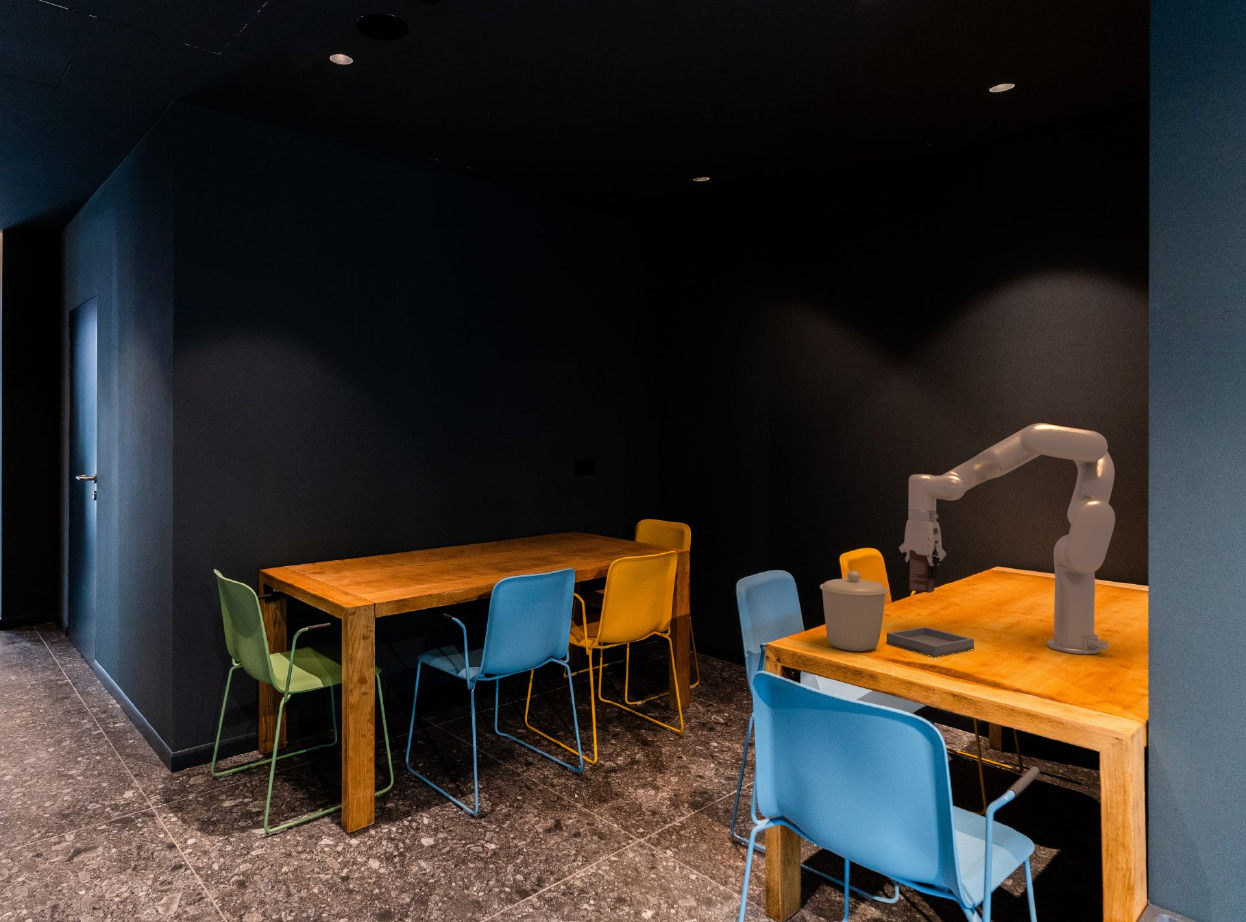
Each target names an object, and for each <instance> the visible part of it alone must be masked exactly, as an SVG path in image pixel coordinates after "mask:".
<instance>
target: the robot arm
mask: <svg viewBox="0 0 1246 922" xmlns="http://www.w3.org/2000/svg"><path fill="white" fill-rule="evenodd" d="M1108 449H1109V447H1108V442H1107V439H1106V437H1105V436H1103V435H1102V434H1101V433H1099V432H1097V431H1094V430H1088V429H1081V428H1074V427H1069V426H1061V425H1056V424H1055V425H1054V424H1051V423H1050V424H1049V423H1046V422H1045V423H1043V422H1040V423H1039V422H1038V423H1033V424H1030V425H1028V426H1026V427H1024V428H1022V429H1021V430H1019V431H1017V432H1016V433H1013V434H1012V435H1009V436H1008V437H1006V438H1005V439H1003V440H1001V441H999V442H997V443H995V444H994V445H992V446H990V447H989V448H987V449H985V450H983V451H981V452H980V453H978V454H977V455H976V456H974V457H972V458H971V459H969V460H967V461H965V462H963V463H961V464H959V465H957V466H956V467H954V468H952V469H951V470H949V471H947V472H945V473H943V474H942V475H933V474H926V473H925V474H923V473H921V474H918V473H917V474H911V475H910V476H909V478H908V519H907V521H906V526H905V529H904V530H905V531H904V542H903V543H902V544H901V545H899V547H898V549H899V551H900V552H901V555H902V557H903V558H904V561H905V562H906V575H907V576H908V577H909V550H914V551H915V552H916V554H919V555H922V556H927V559H928V561H929V564H930V566H928V579H930V580H931V579H934V580H937V579H938V566H939V565H940V563H941V562H942V561H943V559H944V558H945V557H946V556H947V552H946V551H945V550H944V549H943V547H942V534H941V527H940V524H939V522H938V521H937V519H938V518H939V514H938V513H937V499H938V500H945V501H956V500H959V499H961V498H962V497H963V496H964V495H965V493H966V492H967V491H969V490H970V489H972V488H974V487H976V486H978V485H980V484H982V483H984V482H986V481H990V480H993V479H995V478H999V477H1001V476H1004V475H1006V474H1008V473H1010V472H1011V471H1014V470H1016V469H1017V468H1020V467H1021V466H1023V465H1025V464H1026V463H1028V462H1029V461H1032V460H1033V459H1036V458H1037V457H1039V456H1041V455H1043V456H1048V457H1052V458H1058V459H1063V460H1071V461H1074V463H1075V465H1076V468H1077V478H1076V482H1075V487H1074V490H1073V493H1072V497H1071V500H1070V503H1069V506H1068V509H1067V519H1068V522H1069V523H1070V529H1069V533H1068V534H1067V535H1064V536H1062V537H1060V538H1059V539H1058V540H1057V542H1056V543H1055V545H1054V549H1053V566H1054V567H1053V568H1054V607H1053V608H1054V609H1053V611H1054V612H1053V613H1054V615H1053V619H1054V621H1053V638H1051V639H1049V640H1047V646H1048V648H1051V649H1053V650H1056V651H1060V652H1064V653H1069V654H1077V655H1095V654H1099V653H1101V650H1103V651H1107V650H1108V648H1109V642H1108V641H1103V640H1100V639H1099V634H1096V633H1095V603H1096V601H1095V597H1096V579H1095V578H1096V577H1095V575H1096V574H1095V572H1096V571H1097V570H1099V568H1100V567H1101V566H1102V565H1103V563H1104V561H1105V559H1106V555H1107V553H1108V549H1109V545H1110V542H1111V539H1112V535H1113V532H1114V528H1115V523H1116V513H1115V511H1114V509H1113V507H1112V506H1111V504H1109V503H1110V498H1111V495H1112V491H1113V486H1114V481H1115V465H1114V462H1113V459H1112V457H1111V455H1110V453H1109V452H1108ZM932 558H933V559H932Z"/></svg>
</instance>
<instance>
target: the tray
mask: <svg viewBox="0 0 1246 922" xmlns="http://www.w3.org/2000/svg"><path fill="white" fill-rule="evenodd" d="M886 644H887V645H890V646H894V647H897V648H900V649H904V650H906V649H907V650H906V651H910V652H913V651H915V652H914V653H917V652H918V653H917V654H920V653H923V654H922V655H924V654H925V655H924V656H927V655H930V656H933V657H932V658H934V657H936V658H939V657H938V656H941V657H943V656H942V655H946V656H950V655H949V654H952V653H957V654H960V653H959V652H962V653H964V652H963V651H967V652H969V651H968V650H971V649H974V650H975V639H974V638H970V637H967V636H963V635H960V634H954V633H951V632H947V631H942V630H940V629H935V628H932V627H927V626H922V627H916V628H909V629H904V630H898V631H896V630H895V631H892V632H886ZM952 655H953V654H952ZM930 656H929V657H930Z"/></svg>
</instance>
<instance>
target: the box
mask: <svg viewBox="0 0 1246 922" xmlns="http://www.w3.org/2000/svg"><path fill="white" fill-rule="evenodd" d="M932 559H933V558H932ZM928 566H930V564H929V561H928V559H927V556H922V555H919V554H916V552H915V551H914V550H909V576H908V577H909V580H908V583H909V585H908V589H909V592H910V591H912V592H920V593H921V592H922V593H927V594H931V593H934V591H935V579H931V580H930V579H928Z"/></svg>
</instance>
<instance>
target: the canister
mask: <svg viewBox="0 0 1246 922" xmlns="http://www.w3.org/2000/svg"><path fill="white" fill-rule="evenodd" d="M846 574H847V575H846V577H847V578H835V579H831V580H827V581H825V582H824V583H822V584H820V585H819V588H820V590H822V591H821V592H822V602H823V613H824V623H825V630H826V637H827V640H828V642H829V643H830V645H831V646H833V647H835V648H837V649H840V650H844V651H849V652H850V651H851V652H868V651H871V650H874V649H876V647H877V646H878V645H879V642H880V639H881V633H882V625H883V619H884V610H885V603H886V595H887V594H888V593H889V589H888V588H886V587H884V585H883V584H881V583H880V582H879V583H878V582H877V581H876V582H875V581H871V580H867V579H866V580H865V579H861V573H860V572H858V571H857V570H850V571H848V573H846Z"/></svg>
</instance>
